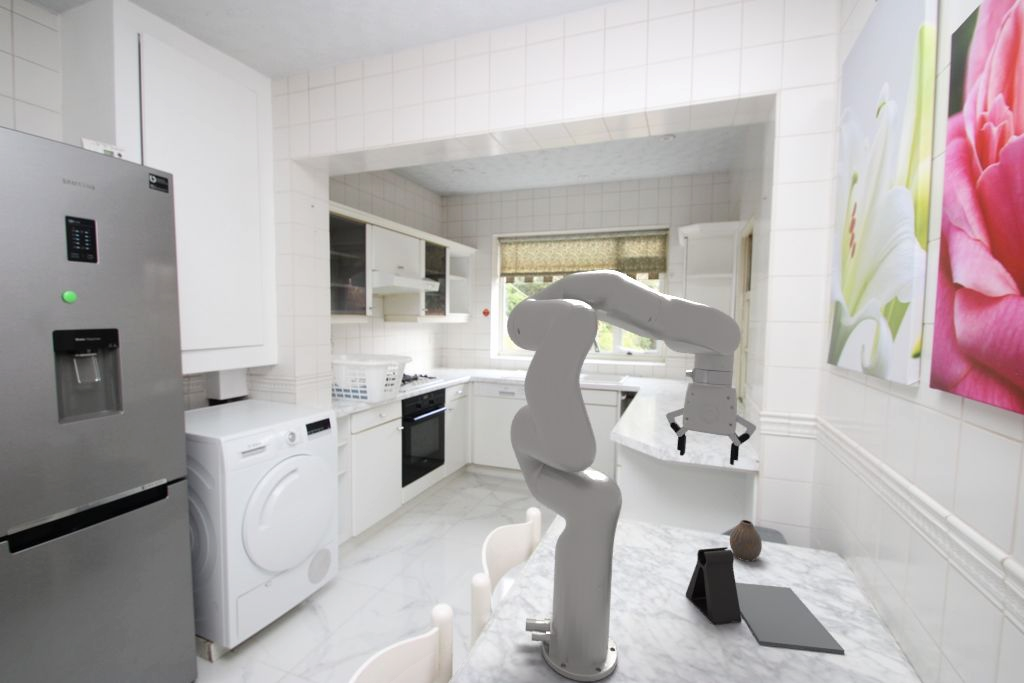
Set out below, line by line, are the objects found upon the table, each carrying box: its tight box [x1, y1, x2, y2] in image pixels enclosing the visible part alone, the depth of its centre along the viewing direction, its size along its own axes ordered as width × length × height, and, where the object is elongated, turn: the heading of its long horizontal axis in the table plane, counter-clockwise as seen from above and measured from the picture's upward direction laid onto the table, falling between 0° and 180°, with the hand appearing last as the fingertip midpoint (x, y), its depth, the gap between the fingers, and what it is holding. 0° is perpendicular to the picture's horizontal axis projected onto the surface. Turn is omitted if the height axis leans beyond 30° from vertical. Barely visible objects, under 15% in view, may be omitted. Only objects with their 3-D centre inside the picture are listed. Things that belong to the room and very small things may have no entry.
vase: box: [729, 519, 763, 562], centre depth 107 cm, size 7×7×9 cm
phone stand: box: [685, 546, 742, 625], centre depth 86 cm, size 9×6×12 cm, turn 12°
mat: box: [735, 582, 845, 654], centre depth 85 cm, size 14×18×1 cm
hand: (706, 458), depth 92 cm, fingers open, 9 cm apart
